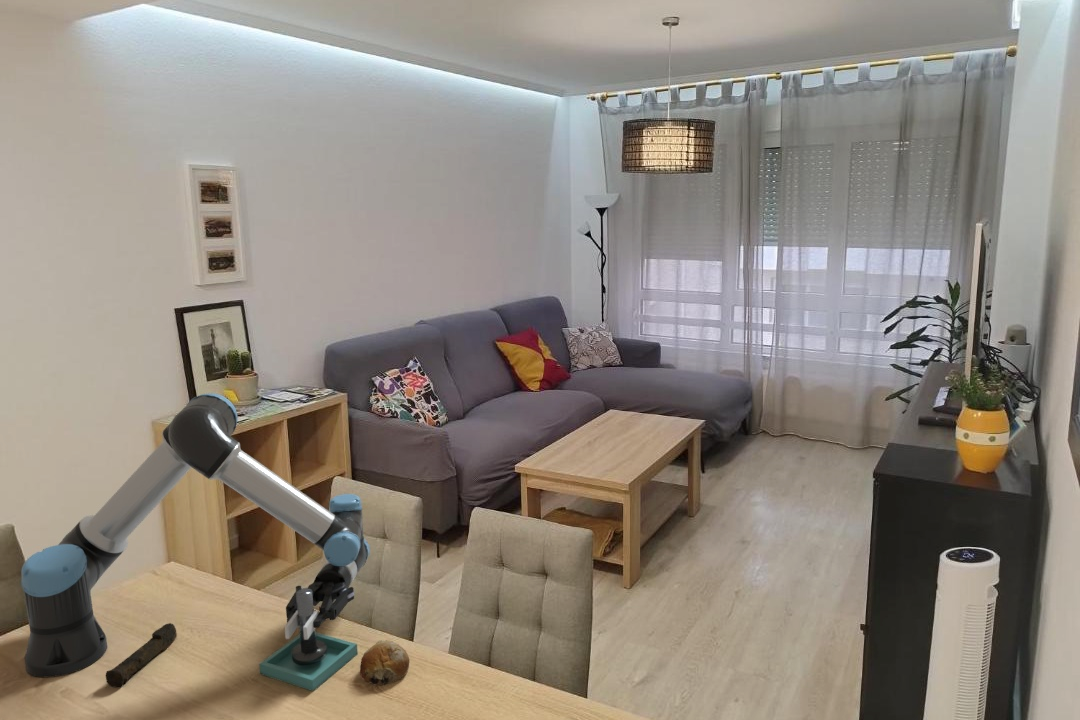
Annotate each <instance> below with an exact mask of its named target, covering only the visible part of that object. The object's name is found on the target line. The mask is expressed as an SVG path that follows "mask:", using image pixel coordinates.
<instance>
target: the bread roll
mask: <svg viewBox="0 0 1080 720" xmlns="http://www.w3.org/2000/svg"><path fill="white" fill-rule="evenodd" d="M409 667H410V657H409V655H408V652H407V650H406V649H405V648H404V647H402V646H401V645H400V644H399V643H397V642H394V641H393V640H378V641H377V642H376V643H375V644H373V645H372V646H371V647H370V648H369V649H367V650H365V652H364V653H363V655H362V657H361V660H360V665H359V669H360V671H359V673H360V676H361V678H362V679H363V680H364V681H365V682H366V683H370V684H372V685H376V686H382V685H387V684H391V683H394V682H396V681H399V680H401V679H402V678H403V677H404V676H406V674H407V673H408V671H409Z"/></svg>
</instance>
